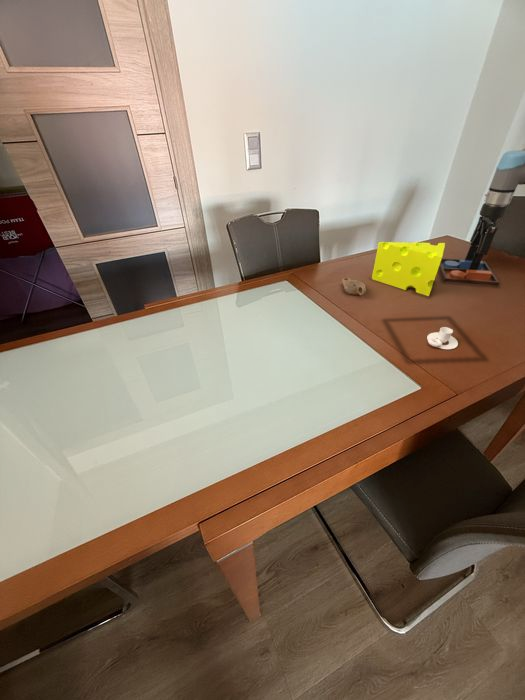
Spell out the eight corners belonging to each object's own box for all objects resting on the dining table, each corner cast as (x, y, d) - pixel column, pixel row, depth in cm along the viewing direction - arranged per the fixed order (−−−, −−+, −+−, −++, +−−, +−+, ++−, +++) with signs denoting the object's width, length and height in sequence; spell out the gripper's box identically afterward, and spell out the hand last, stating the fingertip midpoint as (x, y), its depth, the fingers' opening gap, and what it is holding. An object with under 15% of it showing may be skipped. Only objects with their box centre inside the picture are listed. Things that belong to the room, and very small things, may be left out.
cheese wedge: (405, 303, 104) (417, 262, 94) (371, 279, 119) (378, 241, 109) (451, 292, 108) (466, 252, 99) (412, 270, 123) (423, 233, 113)
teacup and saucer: (430, 351, 84) (435, 339, 81) (419, 334, 90) (423, 323, 88) (462, 350, 84) (468, 338, 81) (449, 333, 90) (453, 321, 87)
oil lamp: (336, 285, 116) (337, 273, 113) (354, 282, 117) (356, 270, 114) (352, 302, 106) (354, 289, 103) (371, 299, 107) (374, 286, 104)
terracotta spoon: (486, 275, 115) (489, 269, 113) (490, 282, 111) (493, 275, 109) (448, 273, 118) (450, 266, 116) (450, 279, 114) (453, 272, 113)
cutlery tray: (483, 265, 124) (485, 260, 122) (497, 287, 109) (499, 282, 108) (435, 262, 128) (437, 257, 127) (443, 283, 114) (445, 278, 112)
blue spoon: (478, 265, 122) (481, 259, 120) (482, 271, 118) (484, 264, 116) (442, 263, 125) (444, 257, 123) (444, 268, 121) (446, 262, 120)
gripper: (476, 196, 114) (455, 255, 129) (491, 211, 99) (465, 276, 114) (499, 197, 112) (474, 256, 127) (518, 212, 98) (487, 277, 112)
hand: (470, 265), depth 120 cm, fingers open, 7 cm apart
